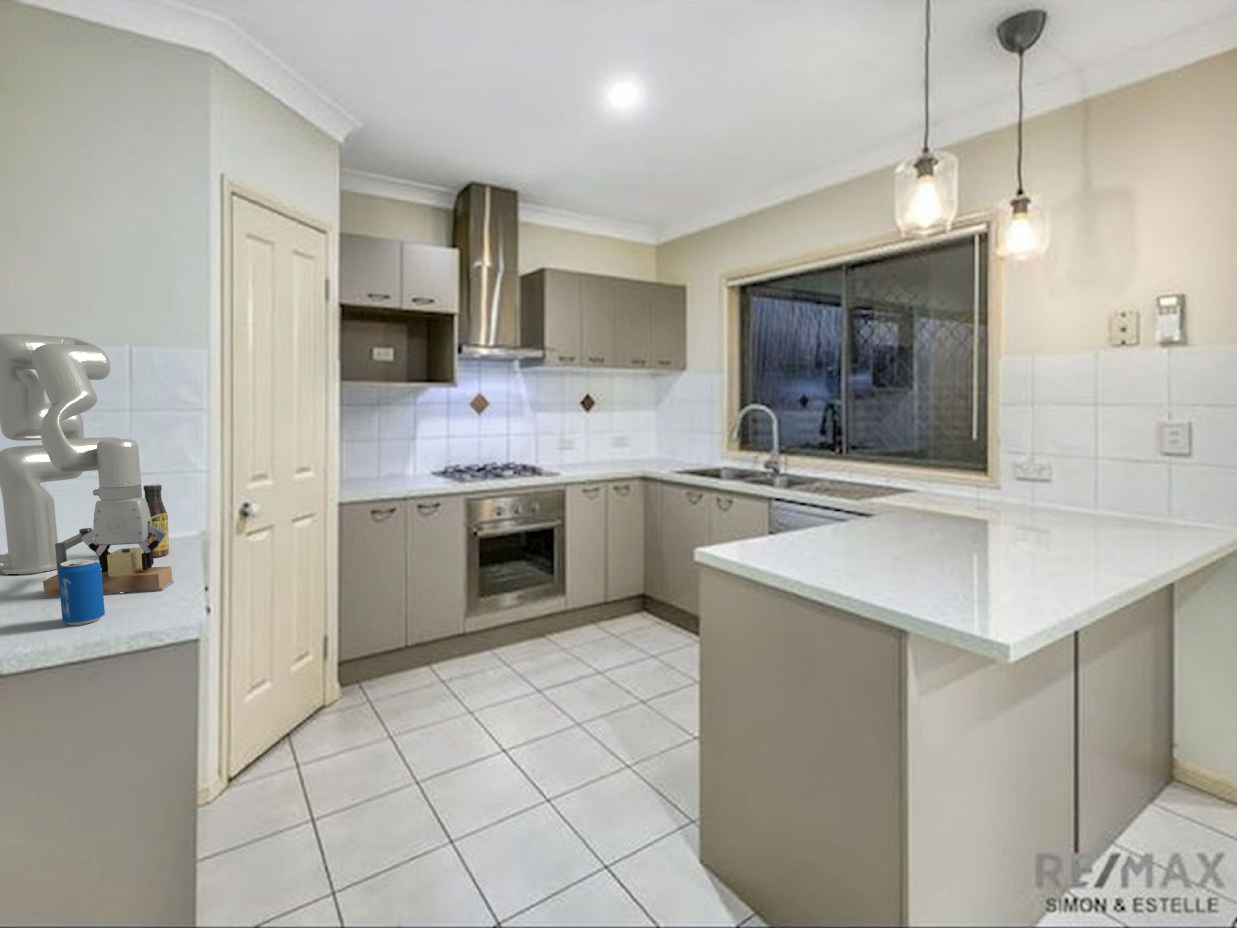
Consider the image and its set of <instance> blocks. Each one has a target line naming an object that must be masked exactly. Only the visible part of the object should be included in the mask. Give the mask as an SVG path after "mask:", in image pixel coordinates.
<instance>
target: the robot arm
mask: <svg viewBox="0 0 1237 928" xmlns="http://www.w3.org/2000/svg"><path fill="white" fill-rule="evenodd" d="M32 370H35V372H36V373H34V372H33V371H32ZM110 372H111V362H110V359H109V357H108V355H107V354H106V352H105V351H104V350H103V349H102V348H101V347H99V346H96V345H95V344H92V343H91V342H90V343H89V342H86V341H84V340H81V339H79V338H76V337H68V336H54V335H44V334H31V333H30V334H28V333H2V334H0V431H1V433H2V435H3V436H4V438H6V439H8V440H10V441H19V442H25V441H41V443H42V444H38V445H37V444H35V445H33V444H32V445H19V446H17V445H16V446H12V447H7V448H4V449H1V450H0V492H1V496H2V505H3V514H4V523H5V532H6V536H5V537H6V543H7V552H6V553H4V554H0V564H3V566H2V567H1V568H0V569H1V573H2V574H3V575H8V574H19V575H29V574H38V573H43V572H44V571H45V572H50V571H54V570H57V562H56V551H55V544H56V543H59V541H58V540H59V539H58V531H57V530H58V529H57V520H56V518H57V517H56V507H55V501H54V497H53V496H52V494H51V493H50V492H49V491H48V490H47V489H45V488H44V487H43V485H41V484H42V483H47V482H56V481H68V480H74V479H77V478H78V477H81V475H83V473H84V472H92V471H97V474H98V485H99V487H98V488H97V489H93V491H92V495H93V496H98V498H99V499H100V500H97V501H96V502H95V506H94V511H93V525H92V526H93V527H92V531H90V532H89V533H88V534H86V535H85V536H84V537H82V539H81V540H82V541H83V543H84V544H85V545H87V546H88V548H89V549H90V550H91V551H93V552H94V553H95V556H98V563H99V564H100V565H101V570H102V573H105V572H107V571H108V561H107V555H108V554H110V553H111V552H110V551H109V550H110V548H111V546H121V545H122V546H123V545H137V544H138V546H139V547H141V548H142V550H143V551H144V553H142V554H141V557H142V569H143V570H148V569H149V568H151V567H153V565H154V564H155V563H154V557H153V550H154V549H155V548H156V547H157V546H158V545H159V544H160V543H161V541H162V540H163V539H164V538H165V537H166V535H167V534H166V533H165V532H163V531H162V530H160V529H158V528H157V527H155V526H153V525H152V521H151V516H150V511H149V508H148V504H147V501H146V499H145V497H143V492H142V491H143V490H142V476H141V465H140V453H139V444H138V443H137V442H136V441H135V440H134V439H127V438H123V439H122V438H119V437H114V436H108V437H103V436H102V437H85V435H84V432H85V431H84V421H83V417H82V415H81V414H83V413H85V412H87V411H89V410H91V409H93V408H94V406H95V405H96V404H97V402H98V396H97V394H96V392H95V390H94V387H93V386H92V383H91V381H101V380H104V379H106V378H107V377H108V376H109V375H110ZM45 394H46V396H47V398H48V400H49V402H46V399H45ZM153 534H154V535H156V538H155V540H154V541H153V542H151V541H150V540H149V539H150V538H152V535H153Z"/></svg>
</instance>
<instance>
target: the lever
mask: <svg viewBox="0 0 1237 928" xmlns="http://www.w3.org/2000/svg"><path fill="white" fill-rule="evenodd" d="M92 530H93V527H85V528H79V530H78V531H79V533H78V534H76V535H74V536H72V537H69V538H67V539H66V540H64V541H61V542H58V543H56V544H55V551H56V562H57V569H56V572H57V574H58V570H59V568H60V567H61V566H60V564H61V563H63V562H67V561H68V557H67V550H69V549H71V548H73V547H75V546H77V545H78V544H81V543H82V542H83V541H82V540H81V539H82V537H84V536H85V535H86V534H88V533H89V532H90V531H92ZM83 543H84V542H83Z"/></svg>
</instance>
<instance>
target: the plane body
mask: <svg viewBox="0 0 1237 928" xmlns="http://www.w3.org/2000/svg"><path fill="white" fill-rule="evenodd" d="M101 574H102V585H103V594H104V595H112V594H111V593H119V594H121V593H120V592H135V593H145V592H144V591H150V592H162V591H164V590H166V589H167V588H169V587H170V586H171V585H173V584H174V583H175V582H174V580H173V573H172V565H170V566H169V565H168V566H152V567H151V568H149V569H148V570H141V571H139V572H138V573H136V574H134V575H130V576H113V577H109V573H108V571H107V572H105V573H102V569H101ZM42 585H43V594H44V595H43V596H42V598H43V599H54V598H60V588H59V577H58V573H57V574H55V575H53V576H51V577H49V578H46V579H44V580H42ZM166 587H167V588H166Z"/></svg>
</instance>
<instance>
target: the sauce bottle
mask: <svg viewBox="0 0 1237 928" xmlns="http://www.w3.org/2000/svg"><path fill="white" fill-rule="evenodd" d="M162 490H163V488H162V484H159V483H158V484H145V485H143V492H144V498H145V499H146V501H147V504H148V508H149V511H150V516H151V521H152V525H153V526H155V527H157V528H158V529H160V530H162V531H163V532H165V533H166V534H167V535H166V537H165V538H164V539H163V540H162V541H161V543H160V544H159V545H158V546H157V547H156V548H155V549H154V550H153V558H159V557H164V556H166V555H168V554H169V553H170V552H169V551H170V550H169V549H170V544H169V543H170V539H169V517H168V512H167V510H166V508H165V505H164V503H163V499H162ZM155 538H156V535H154V534H153V535H152V538H150V539H149V540H150V541H151V542H153V541H154V540H155Z"/></svg>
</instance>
